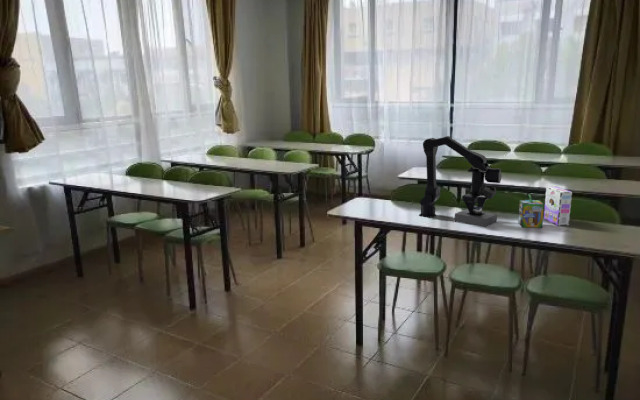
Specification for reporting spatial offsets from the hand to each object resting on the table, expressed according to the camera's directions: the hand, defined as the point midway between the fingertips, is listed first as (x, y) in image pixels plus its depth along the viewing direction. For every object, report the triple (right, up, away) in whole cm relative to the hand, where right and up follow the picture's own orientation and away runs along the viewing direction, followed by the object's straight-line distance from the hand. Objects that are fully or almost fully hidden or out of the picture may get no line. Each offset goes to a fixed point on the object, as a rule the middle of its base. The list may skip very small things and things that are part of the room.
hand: (475, 212), depth 240 cm
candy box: (+38, -5, -1) cm, 39 cm away
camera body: (0, -4, +1) cm, 4 cm away
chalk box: (+23, -6, -6) cm, 25 cm away
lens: (0, -3, +1) cm, 3 cm away
